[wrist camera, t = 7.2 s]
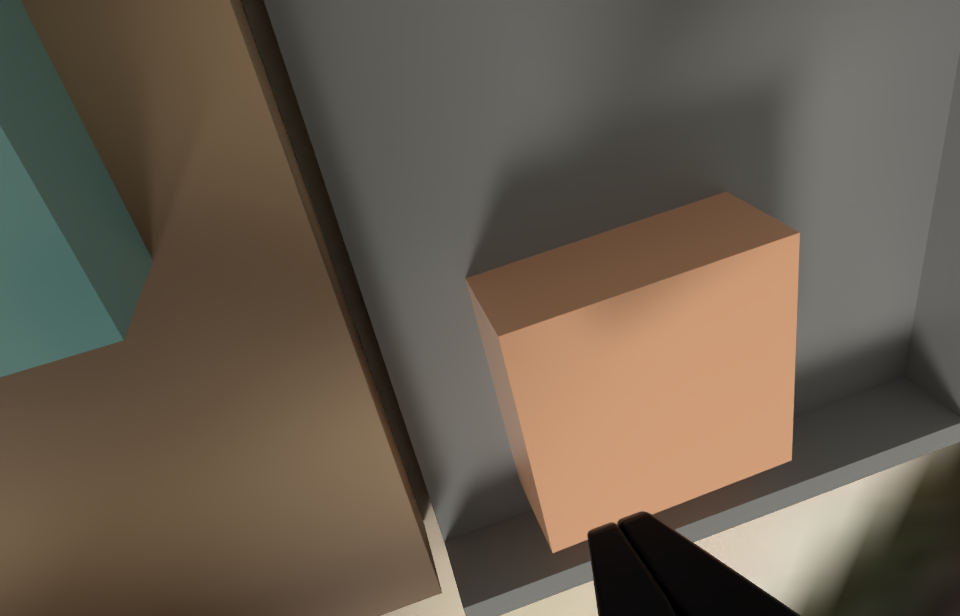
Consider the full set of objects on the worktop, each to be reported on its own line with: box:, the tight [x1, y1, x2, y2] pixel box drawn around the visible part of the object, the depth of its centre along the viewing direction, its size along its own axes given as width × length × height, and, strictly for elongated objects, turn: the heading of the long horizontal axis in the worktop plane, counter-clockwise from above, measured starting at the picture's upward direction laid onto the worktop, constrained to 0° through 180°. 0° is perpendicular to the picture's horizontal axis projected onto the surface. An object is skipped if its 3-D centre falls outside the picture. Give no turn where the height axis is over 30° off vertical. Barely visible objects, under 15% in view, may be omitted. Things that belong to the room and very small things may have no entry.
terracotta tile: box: [465, 191, 800, 553], centre depth 12 cm, size 5×5×2 cm
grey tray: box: [264, 0, 960, 616], centre depth 11 cm, size 16×12×2 cm
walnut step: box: [0, 0, 442, 616], centre depth 10 cm, size 14×8×2 cm, turn 11°
